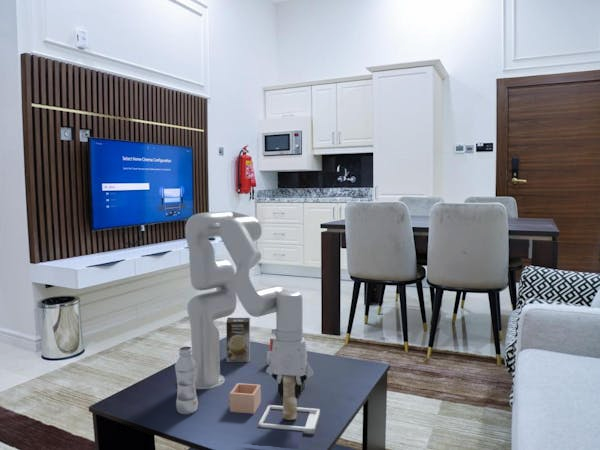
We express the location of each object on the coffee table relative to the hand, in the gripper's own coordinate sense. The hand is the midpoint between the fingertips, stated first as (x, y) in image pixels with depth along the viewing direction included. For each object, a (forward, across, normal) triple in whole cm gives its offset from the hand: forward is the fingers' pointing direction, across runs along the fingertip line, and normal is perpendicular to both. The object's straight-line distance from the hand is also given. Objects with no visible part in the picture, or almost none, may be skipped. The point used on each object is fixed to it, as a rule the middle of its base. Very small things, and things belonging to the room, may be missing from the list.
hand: (289, 395), depth 141 cm
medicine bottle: (+8, -3, +21) cm, 23 cm away
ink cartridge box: (+8, -12, +41) cm, 44 cm away
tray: (+8, 0, 0) cm, 8 cm away
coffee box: (+8, -30, +45) cm, 55 cm away
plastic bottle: (+8, -32, 0) cm, 33 cm away
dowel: (+6, 0, 0) cm, 6 cm away
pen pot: (+8, -15, +5) cm, 18 cm away
